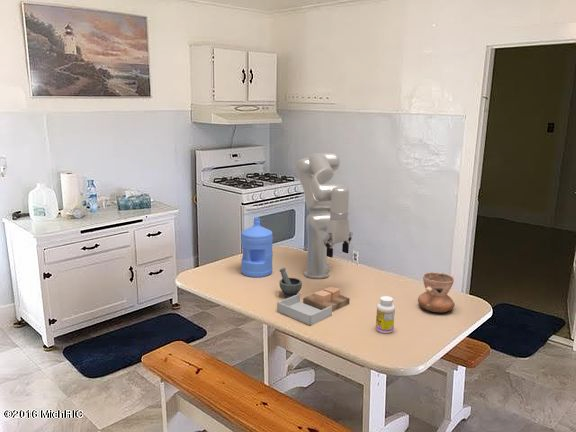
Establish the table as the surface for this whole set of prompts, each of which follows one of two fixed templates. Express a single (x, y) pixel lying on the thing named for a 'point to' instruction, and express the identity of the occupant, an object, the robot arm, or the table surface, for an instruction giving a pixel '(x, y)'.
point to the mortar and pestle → (289, 284)
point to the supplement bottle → (385, 315)
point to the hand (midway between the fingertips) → (337, 254)
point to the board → (335, 302)
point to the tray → (302, 310)
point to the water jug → (256, 250)
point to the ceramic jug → (436, 292)
